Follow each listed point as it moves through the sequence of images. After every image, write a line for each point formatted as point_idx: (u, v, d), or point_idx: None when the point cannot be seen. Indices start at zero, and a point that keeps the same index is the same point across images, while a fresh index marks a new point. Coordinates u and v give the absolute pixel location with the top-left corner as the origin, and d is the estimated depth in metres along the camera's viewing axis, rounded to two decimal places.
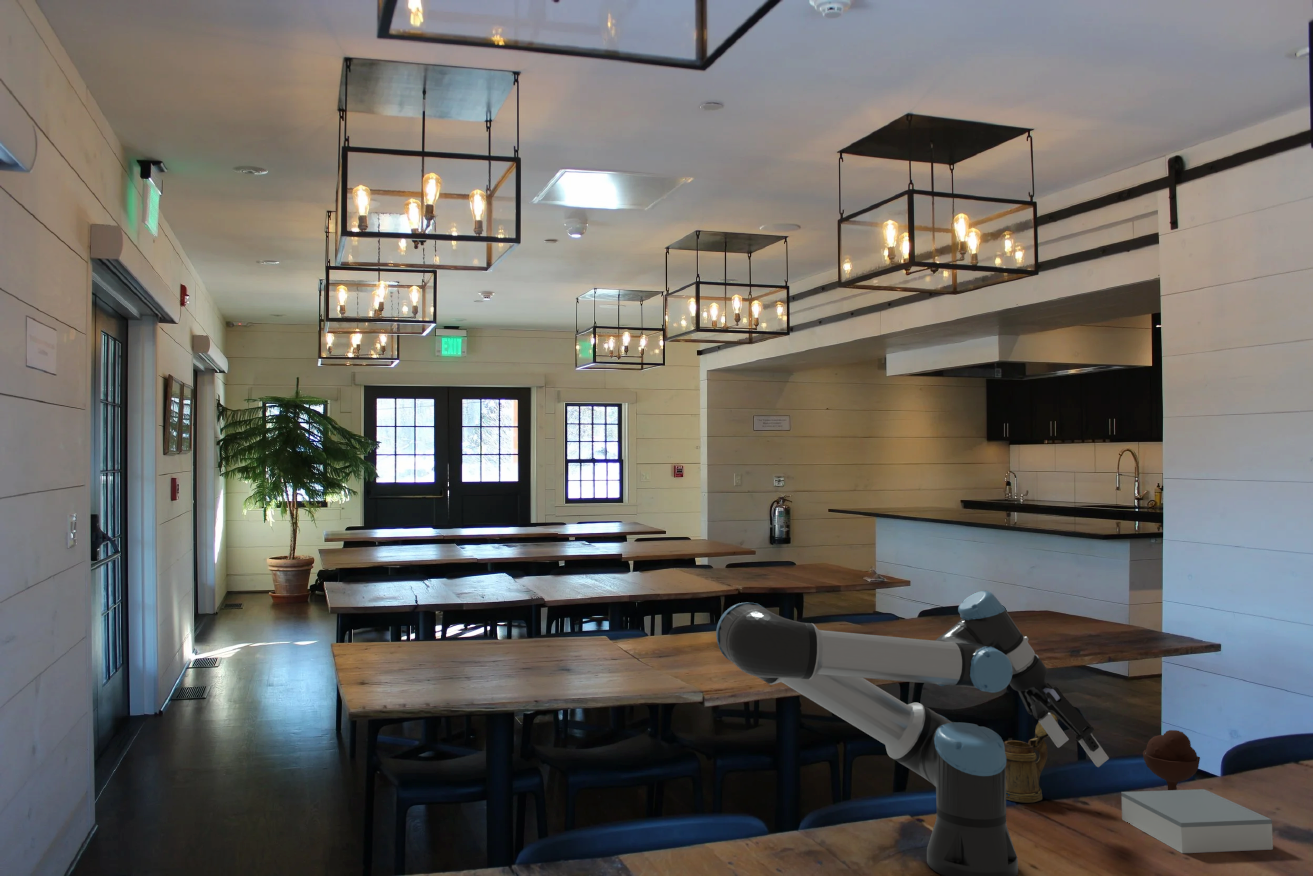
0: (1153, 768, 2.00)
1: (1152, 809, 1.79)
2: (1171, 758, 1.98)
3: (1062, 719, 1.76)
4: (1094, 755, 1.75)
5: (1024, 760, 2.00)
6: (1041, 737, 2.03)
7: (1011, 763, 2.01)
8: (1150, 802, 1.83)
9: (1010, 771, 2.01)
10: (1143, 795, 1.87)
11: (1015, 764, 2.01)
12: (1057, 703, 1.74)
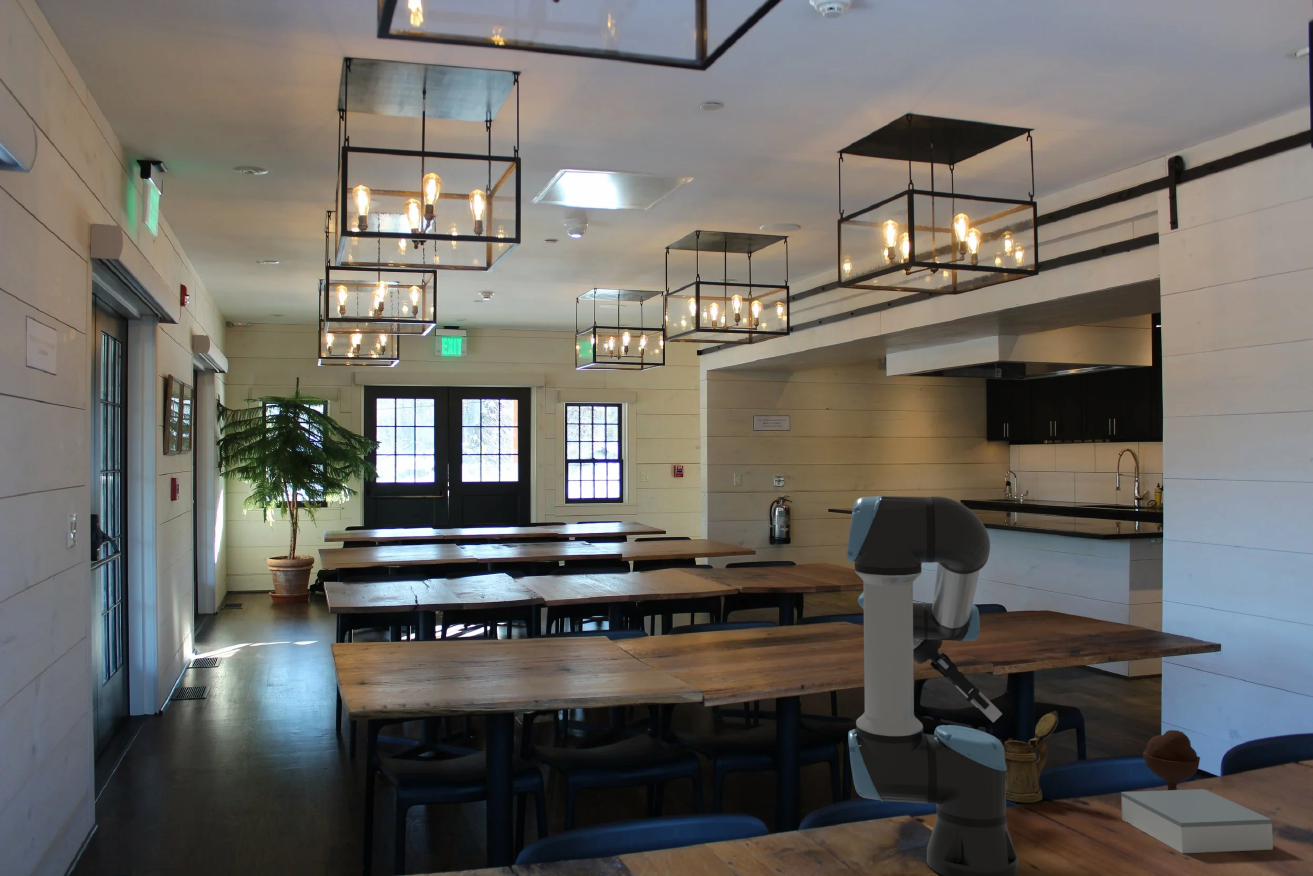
0: (1153, 768, 2.00)
1: (1152, 809, 1.79)
2: (1171, 758, 1.98)
3: None
4: (987, 712, 1.99)
5: (1024, 760, 2.00)
6: (1041, 737, 2.03)
7: (1011, 763, 2.01)
8: (1150, 802, 1.83)
9: (1010, 771, 2.01)
10: (1143, 795, 1.87)
11: (1015, 764, 2.01)
12: (946, 671, 2.00)
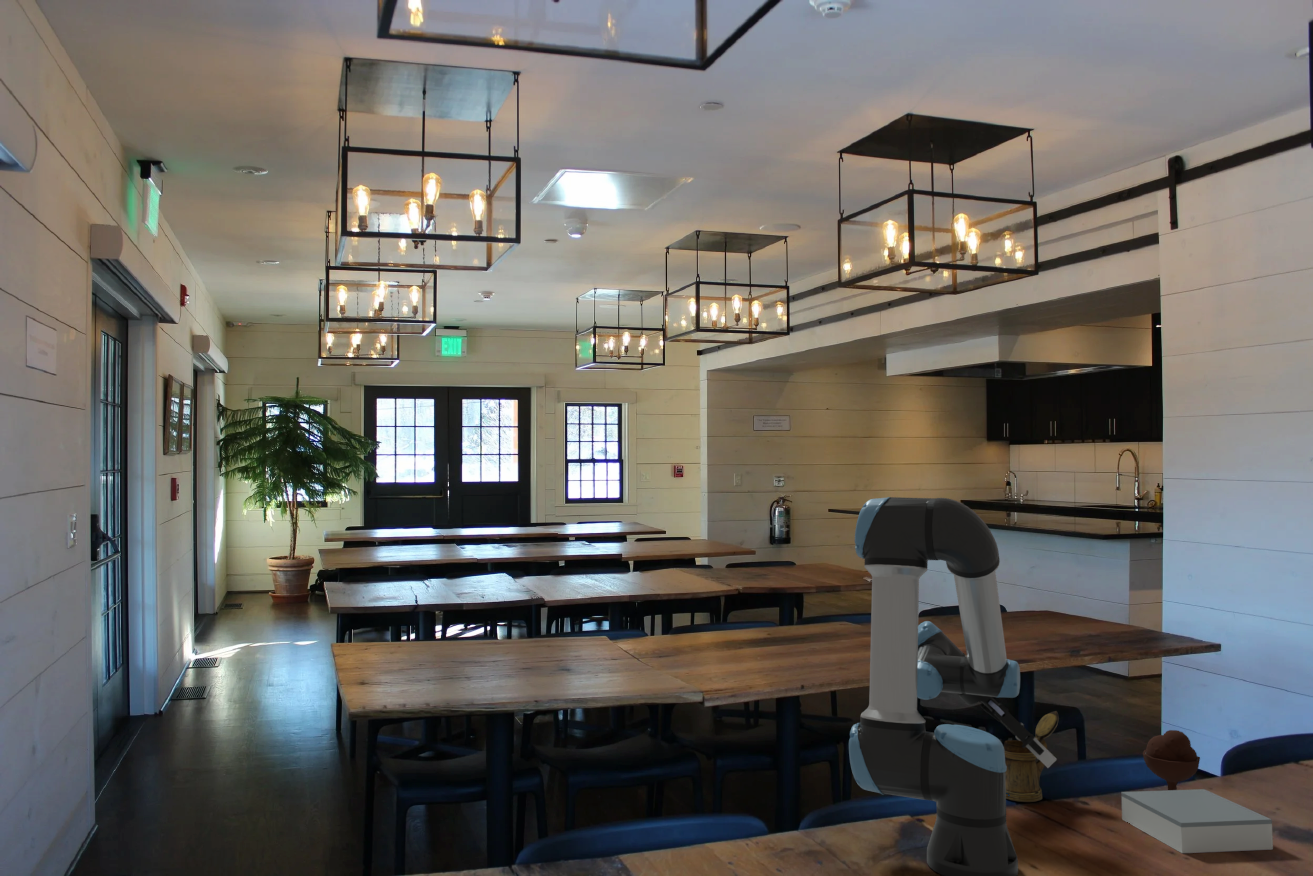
0: (1153, 768, 2.00)
1: (1152, 809, 1.79)
2: (1171, 758, 1.98)
3: None
4: (1042, 758, 2.00)
5: (1024, 759, 2.01)
6: (1041, 737, 2.04)
7: (1011, 762, 2.02)
8: (1150, 802, 1.83)
9: (1010, 770, 2.01)
10: (1143, 795, 1.87)
11: (1015, 763, 2.01)
12: (1002, 718, 1.99)
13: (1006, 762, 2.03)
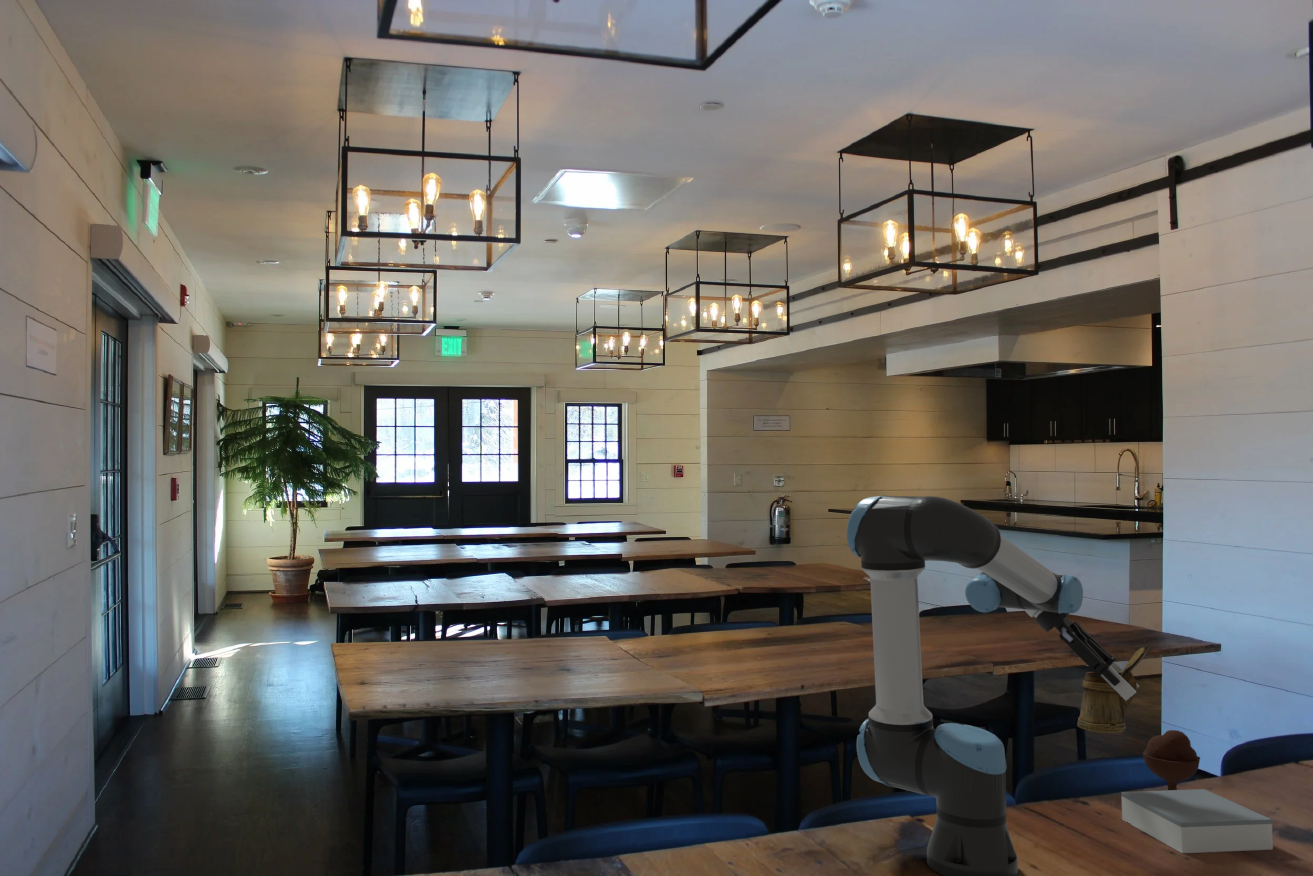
0: (1153, 768, 2.00)
1: (1152, 809, 1.79)
2: (1171, 758, 1.98)
3: None
4: (1119, 689, 1.91)
5: (1100, 689, 1.93)
6: (1126, 669, 1.94)
7: (1087, 692, 1.95)
8: (1150, 802, 1.83)
9: (1086, 700, 1.95)
10: (1143, 795, 1.87)
11: (1091, 692, 1.94)
12: (1070, 644, 1.94)
13: (1084, 692, 1.96)
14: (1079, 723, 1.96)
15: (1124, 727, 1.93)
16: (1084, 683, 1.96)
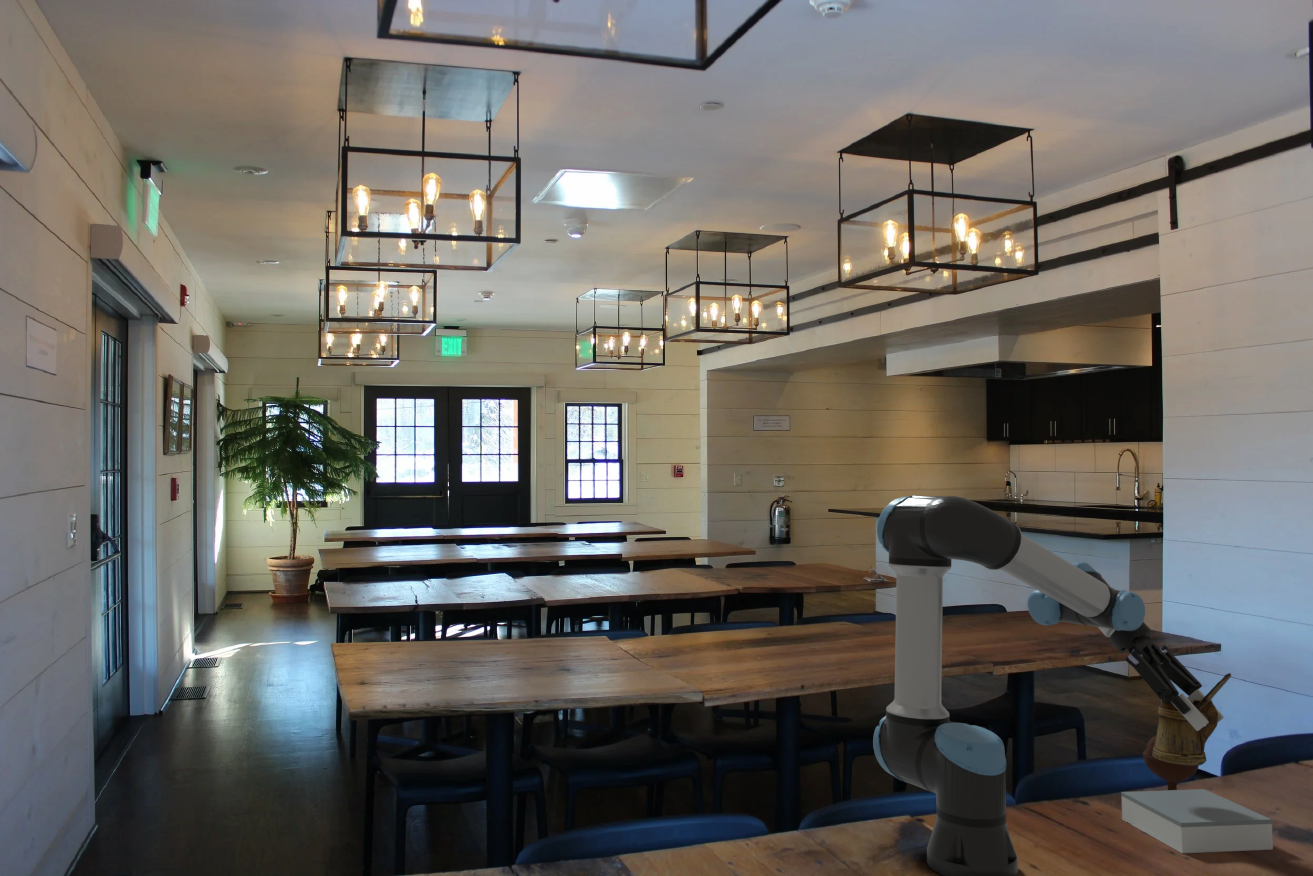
0: (1153, 768, 2.00)
1: (1152, 809, 1.79)
2: None
3: None
4: (1190, 718, 1.79)
5: (1171, 717, 1.82)
6: (1204, 698, 1.80)
7: (1160, 719, 1.84)
8: (1150, 802, 1.83)
9: (1159, 727, 1.84)
10: (1143, 795, 1.87)
11: (1163, 720, 1.83)
12: (1136, 667, 1.85)
13: (1159, 718, 1.86)
14: (1153, 751, 1.85)
15: (1201, 759, 1.80)
16: None
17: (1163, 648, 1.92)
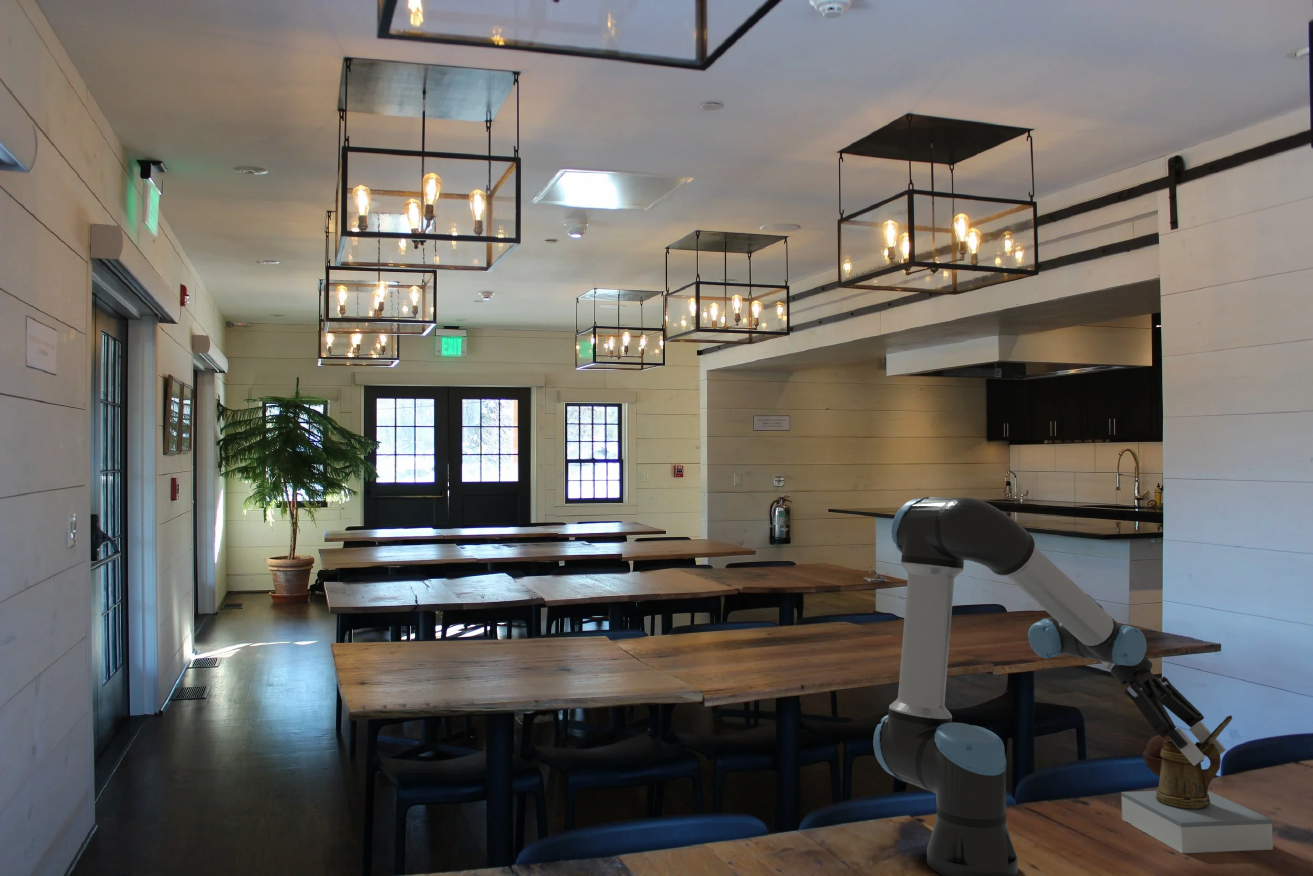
0: (1153, 768, 2.00)
1: (1152, 809, 1.79)
2: None
3: None
4: (1187, 753, 1.78)
5: (1173, 760, 1.81)
6: (1205, 740, 1.80)
7: (1163, 761, 1.84)
8: (1150, 802, 1.83)
9: (1161, 769, 1.84)
10: (1143, 795, 1.87)
11: (1165, 762, 1.83)
12: (1135, 699, 1.84)
13: None
14: (1156, 794, 1.85)
15: (1204, 803, 1.79)
16: (1161, 751, 1.85)
17: (1163, 680, 1.92)
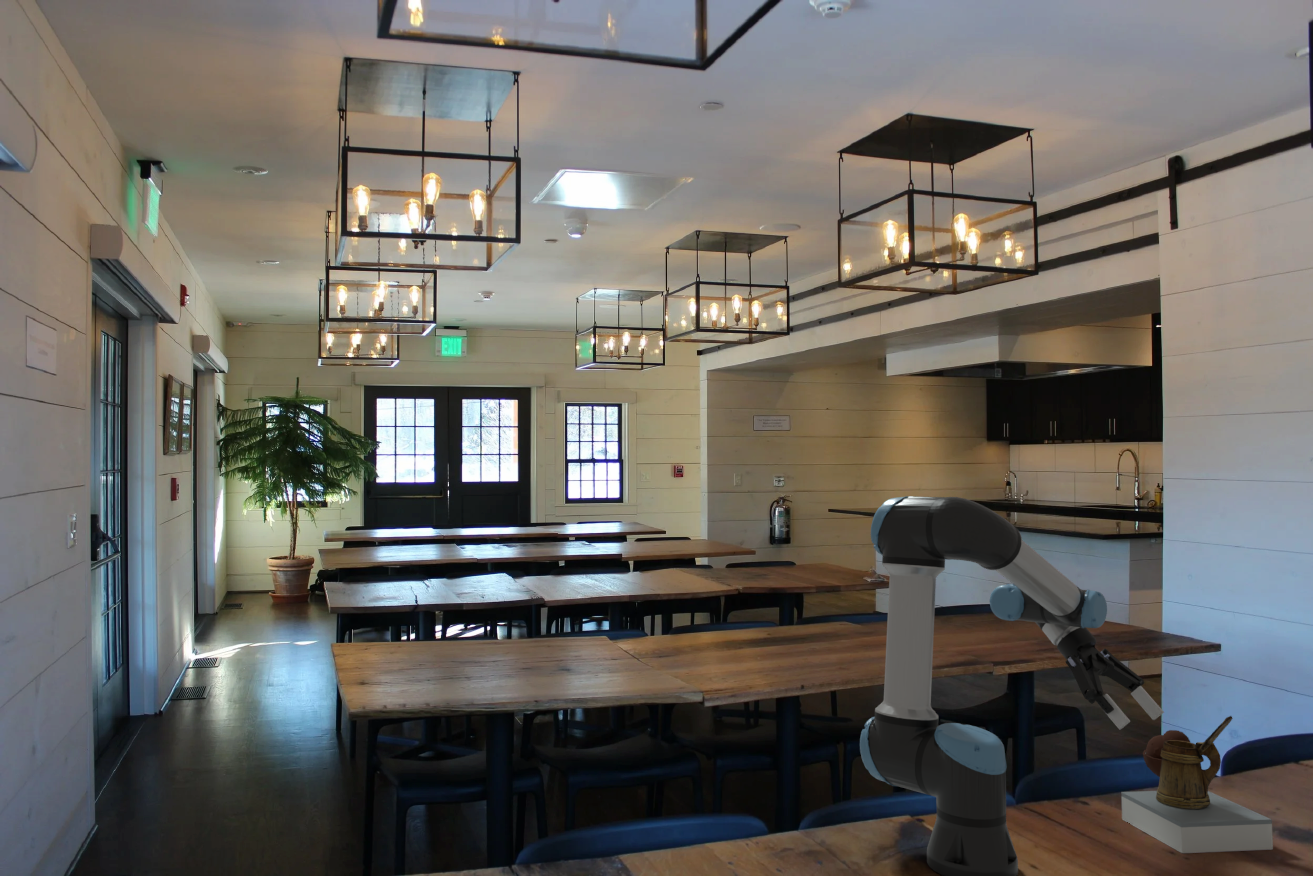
0: (1153, 768, 2.00)
1: (1152, 809, 1.79)
2: None
3: None
4: (1113, 717, 1.87)
5: (1173, 760, 1.81)
6: (1205, 741, 1.80)
7: (1163, 761, 1.84)
8: (1150, 802, 1.83)
9: (1161, 770, 1.84)
10: (1143, 795, 1.87)
11: (1165, 762, 1.83)
12: (1073, 668, 1.94)
13: None
14: (1156, 794, 1.85)
15: (1204, 803, 1.79)
16: (1161, 752, 1.85)
17: (1105, 652, 2.02)
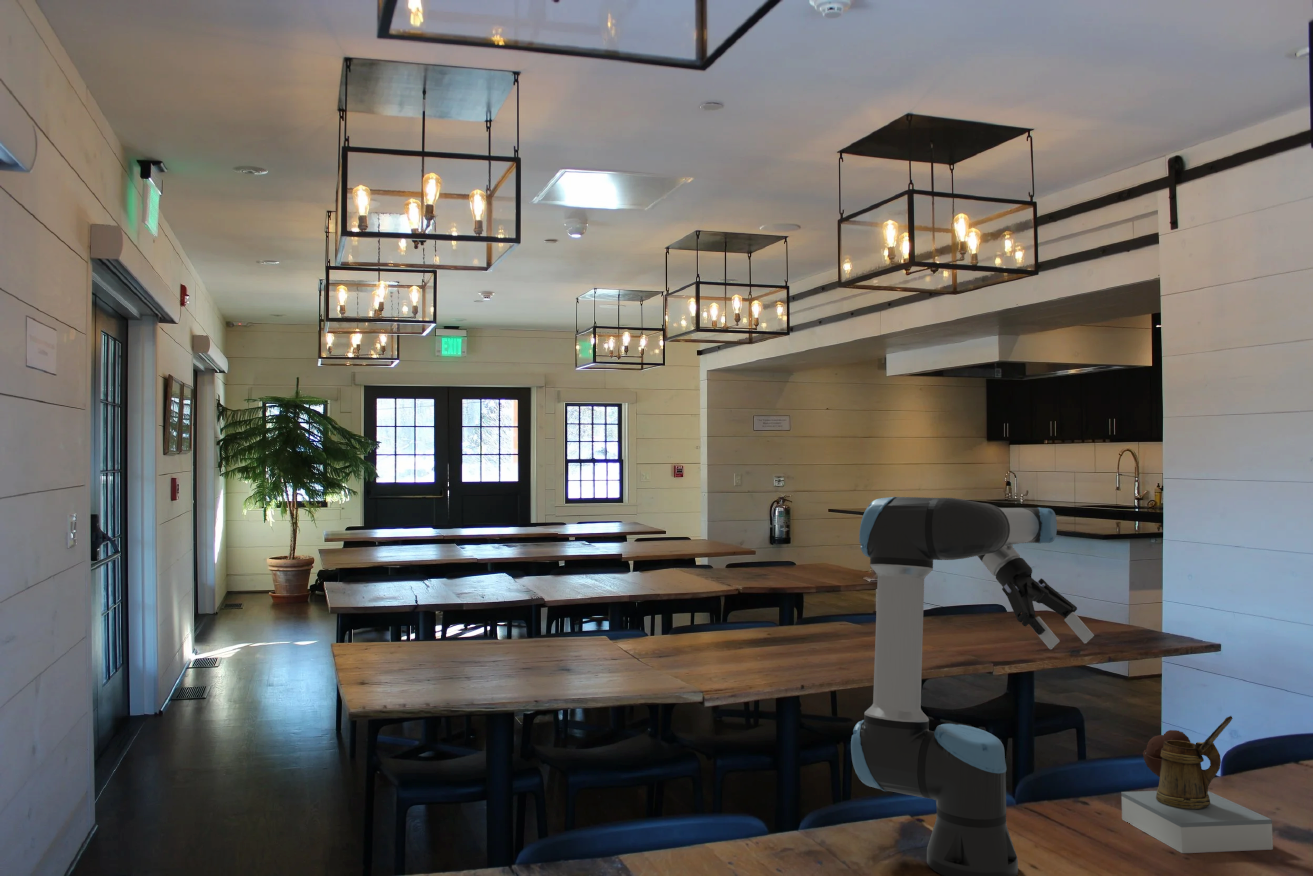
0: (1153, 768, 2.00)
1: (1152, 809, 1.79)
2: None
3: None
4: (1044, 638, 1.98)
5: (1173, 760, 1.81)
6: (1205, 741, 1.80)
7: (1163, 761, 1.84)
8: (1150, 802, 1.83)
9: (1161, 770, 1.84)
10: (1143, 795, 1.87)
11: (1165, 762, 1.83)
12: (1008, 594, 2.05)
13: None
14: (1156, 794, 1.85)
15: (1204, 803, 1.79)
16: (1161, 752, 1.85)
17: (1041, 582, 2.13)
